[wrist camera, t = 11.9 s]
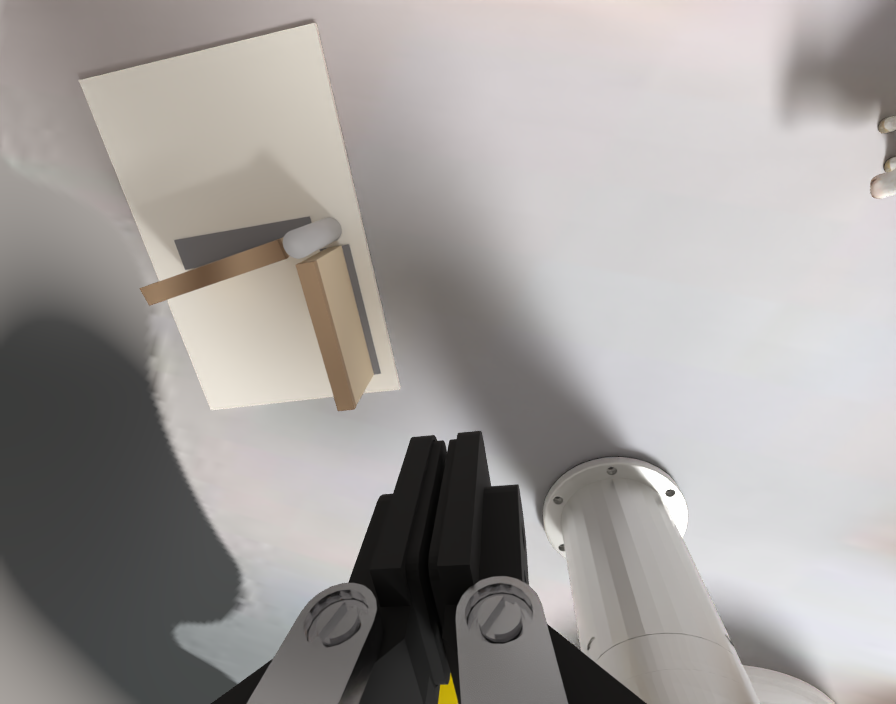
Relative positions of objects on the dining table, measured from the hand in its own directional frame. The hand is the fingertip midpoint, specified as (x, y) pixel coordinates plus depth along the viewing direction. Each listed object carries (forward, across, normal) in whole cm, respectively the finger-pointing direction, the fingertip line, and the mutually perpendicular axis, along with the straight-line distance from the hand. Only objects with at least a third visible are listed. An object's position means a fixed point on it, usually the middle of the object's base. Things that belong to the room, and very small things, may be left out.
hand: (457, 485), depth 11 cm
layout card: (+27, +18, -4) cm, 33 cm away
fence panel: (+26, +18, -3) cm, 32 cm away
